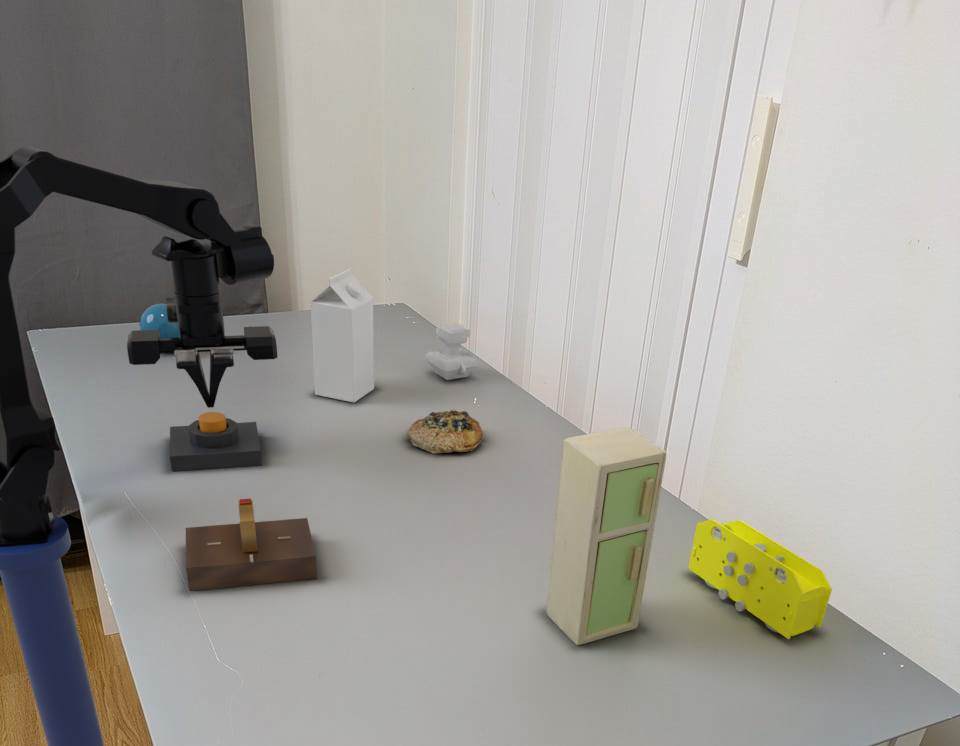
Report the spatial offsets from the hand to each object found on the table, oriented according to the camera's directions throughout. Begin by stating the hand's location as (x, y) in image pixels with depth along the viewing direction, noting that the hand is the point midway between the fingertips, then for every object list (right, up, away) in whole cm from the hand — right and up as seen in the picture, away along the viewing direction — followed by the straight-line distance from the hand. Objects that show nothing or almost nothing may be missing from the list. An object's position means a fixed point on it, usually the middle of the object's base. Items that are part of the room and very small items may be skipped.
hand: (210, 406), depth 129 cm
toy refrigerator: (+49, -29, -27) cm, 63 cm away
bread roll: (+32, -3, +11) cm, 34 cm away
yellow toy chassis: (+68, -27, -22) cm, 76 cm away
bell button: (0, -3, +2) cm, 3 cm away
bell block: (0, -6, +4) cm, 7 cm away
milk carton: (+15, +7, +25) cm, 30 cm away
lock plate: (+10, -23, -20) cm, 32 cm away
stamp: (+32, +12, +33) cm, 48 cm away
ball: (-18, +18, +37) cm, 45 cm away
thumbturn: (+11, -20, -22) cm, 31 cm away
